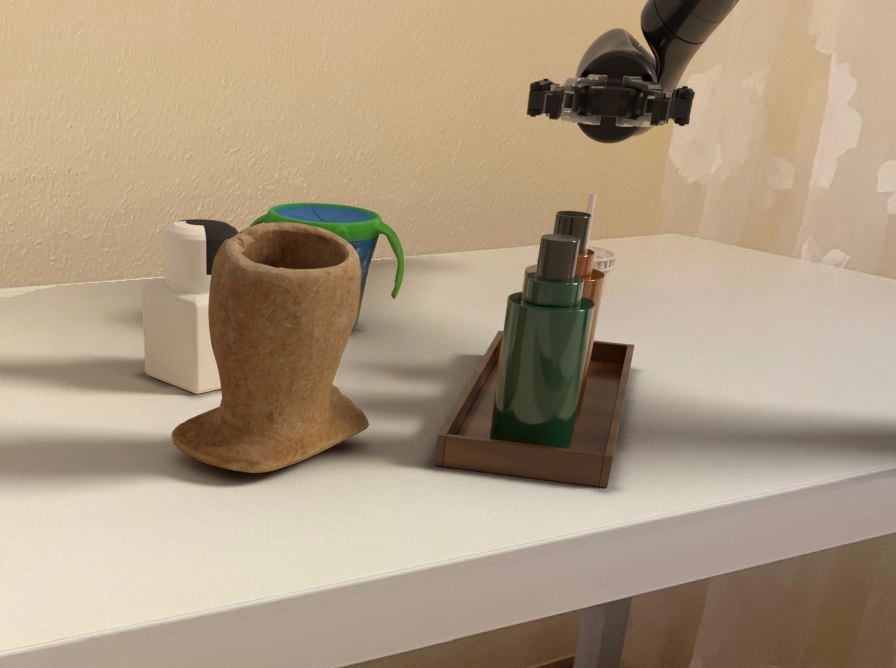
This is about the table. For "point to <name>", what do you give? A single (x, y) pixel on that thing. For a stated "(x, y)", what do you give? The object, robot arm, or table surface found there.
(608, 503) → the table surface
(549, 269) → the green bottle
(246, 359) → the stone cup
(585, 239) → the amber bottle
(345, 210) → the snack cup
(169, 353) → the medicine bottle
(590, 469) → the tray
